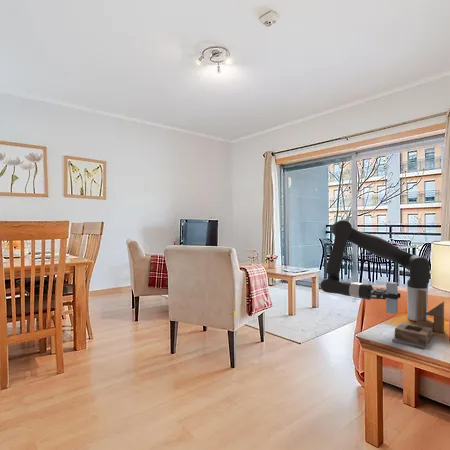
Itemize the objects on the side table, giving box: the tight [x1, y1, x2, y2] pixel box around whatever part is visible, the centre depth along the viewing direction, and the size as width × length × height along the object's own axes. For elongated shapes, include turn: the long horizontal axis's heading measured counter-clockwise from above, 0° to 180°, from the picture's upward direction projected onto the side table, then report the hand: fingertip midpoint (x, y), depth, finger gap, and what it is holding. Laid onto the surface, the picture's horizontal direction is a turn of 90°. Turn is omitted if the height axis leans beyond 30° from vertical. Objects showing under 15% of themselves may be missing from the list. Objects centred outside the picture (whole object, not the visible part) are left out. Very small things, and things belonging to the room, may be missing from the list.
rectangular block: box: [385, 281, 399, 315], centre depth 148 cm, size 3×4×14 cm
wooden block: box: [416, 290, 445, 334], centre depth 152 cm, size 4×11×18 cm, turn 45°
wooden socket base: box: [391, 321, 435, 350], centre depth 142 cm, size 20×12×4 cm, turn 136°
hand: (398, 296), depth 146 cm, fingers closed on rectangular block, 3 cm apart
